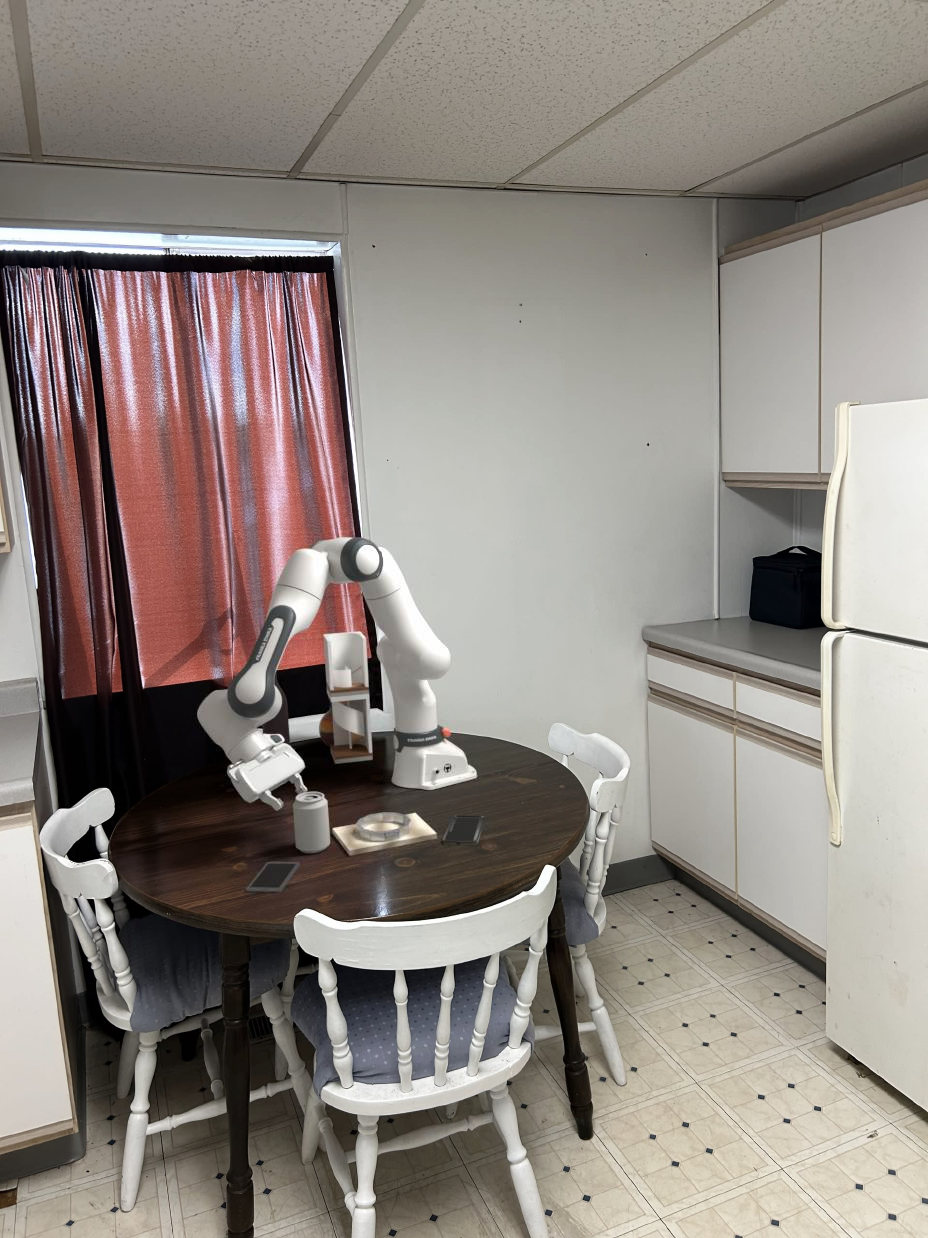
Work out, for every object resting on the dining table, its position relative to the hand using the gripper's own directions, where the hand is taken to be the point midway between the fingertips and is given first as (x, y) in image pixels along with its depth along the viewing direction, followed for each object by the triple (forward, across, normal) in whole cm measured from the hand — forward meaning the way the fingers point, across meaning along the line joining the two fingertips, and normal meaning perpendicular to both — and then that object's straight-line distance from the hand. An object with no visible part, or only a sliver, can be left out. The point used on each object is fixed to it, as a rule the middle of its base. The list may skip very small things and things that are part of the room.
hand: (292, 800), depth 208 cm
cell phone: (+11, -16, +5) cm, 20 cm away
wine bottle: (-15, +42, +30) cm, 53 cm away
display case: (-6, +61, +21) cm, 65 cm away
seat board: (+19, +11, -4) cm, 22 cm away
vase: (-13, +71, +28) cm, 77 cm away
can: (+11, 0, +4) cm, 12 cm away
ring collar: (+18, +11, -5) cm, 22 cm away
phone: (+31, +18, -15) cm, 39 cm away
